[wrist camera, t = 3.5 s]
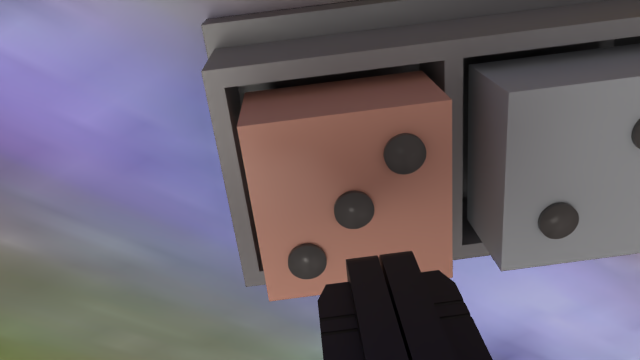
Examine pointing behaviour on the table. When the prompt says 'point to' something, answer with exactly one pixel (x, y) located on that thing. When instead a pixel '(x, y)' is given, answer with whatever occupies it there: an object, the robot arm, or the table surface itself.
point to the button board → (387, 68)
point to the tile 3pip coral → (347, 177)
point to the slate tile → (555, 156)
